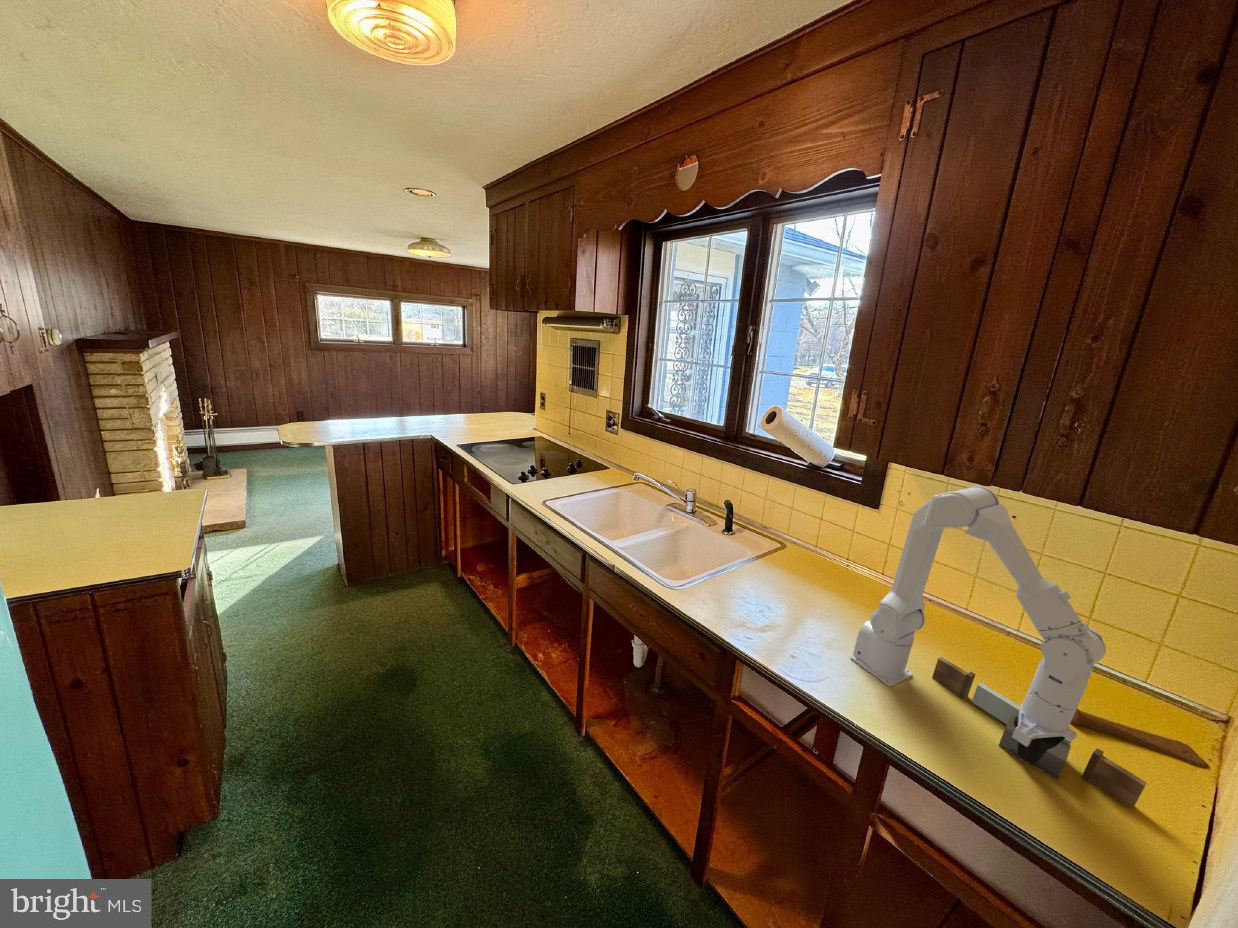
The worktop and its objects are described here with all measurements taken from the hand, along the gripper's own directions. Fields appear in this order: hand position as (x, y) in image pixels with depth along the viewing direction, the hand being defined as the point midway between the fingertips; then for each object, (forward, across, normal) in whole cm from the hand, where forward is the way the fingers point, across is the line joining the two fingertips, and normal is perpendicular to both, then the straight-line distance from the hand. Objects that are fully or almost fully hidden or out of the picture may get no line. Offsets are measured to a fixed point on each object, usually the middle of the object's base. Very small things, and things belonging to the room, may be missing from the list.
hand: (1026, 759), depth 78 cm
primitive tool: (+2, +27, -6) cm, 28 cm away
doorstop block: (+2, +4, +1) cm, 4 cm away
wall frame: (+1, +7, +4) cm, 9 cm away
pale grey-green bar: (+1, +8, +5) cm, 9 cm away
